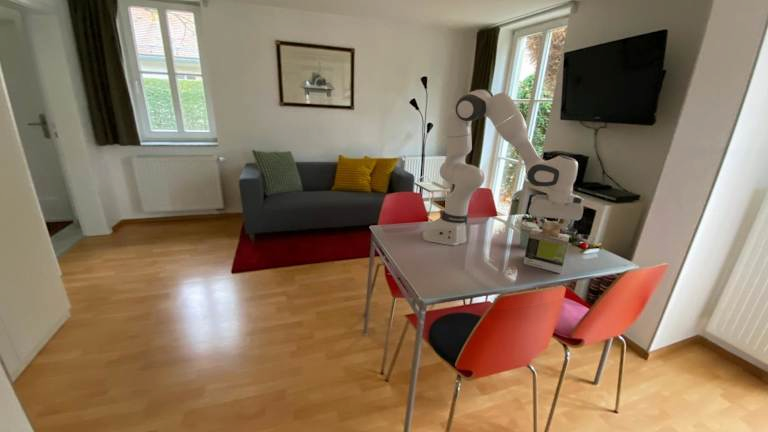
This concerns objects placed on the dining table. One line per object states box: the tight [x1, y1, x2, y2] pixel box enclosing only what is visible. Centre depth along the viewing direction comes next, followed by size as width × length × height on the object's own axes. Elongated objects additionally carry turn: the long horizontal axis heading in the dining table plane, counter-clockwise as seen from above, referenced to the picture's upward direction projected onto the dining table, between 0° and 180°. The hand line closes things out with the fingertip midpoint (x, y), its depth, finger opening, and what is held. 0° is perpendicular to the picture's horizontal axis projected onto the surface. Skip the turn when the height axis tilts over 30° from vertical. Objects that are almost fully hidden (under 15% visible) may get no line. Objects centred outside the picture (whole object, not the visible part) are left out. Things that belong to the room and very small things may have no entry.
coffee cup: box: [519, 221, 540, 250], centre depth 157 cm, size 9×8×12 cm
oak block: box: [541, 220, 562, 237], centre depth 135 cm, size 5×5×5 cm
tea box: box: [523, 228, 570, 274], centre depth 138 cm, size 15×10×15 cm, turn 57°
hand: (551, 227), depth 135 cm, fingers open, 8 cm apart
